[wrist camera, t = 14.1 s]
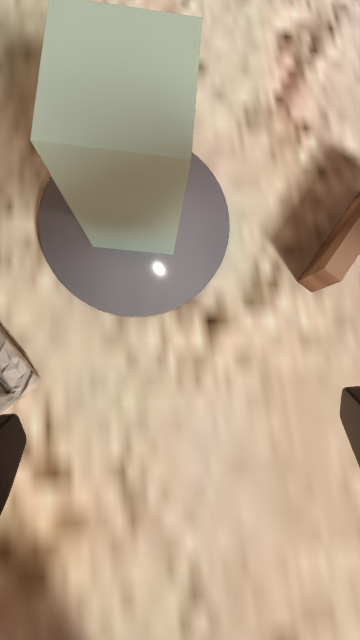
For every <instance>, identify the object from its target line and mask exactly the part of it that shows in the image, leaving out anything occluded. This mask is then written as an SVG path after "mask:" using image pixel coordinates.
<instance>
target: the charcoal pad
mask: <svg viewBox="0 0 360 640" xmlns="http://www.w3.org/2000/svg"><path fill="white" fill-rule="evenodd" d="M38 228H39V238H40V242H41V246H42V250H43V252H44V255H45V258H46V260H47V262H48V264H49V266H50V268H51V269H52V271H53V273H54V274H55V275H56V277H57V278H58V279H59V281H60V282H61V283H62V284H63V285H64V286H65V287H66V288H67V289H68V290H69V291H70V292H71V293H73V294H74V295H75V296H76V297H78V298H79V299H80V300H82V301H83V302H85V303H87V304H88V305H90V306H92V307H94V308H96V309H98V310H101V311H103V312H106V313H110V314H113V315H117V316H124V317H148V316H155V315H159V314H163V313H166V312H169V311H171V310H174V309H176V308H178V307H180V306H182V305H183V304H185V303H187V302H188V301H190V300H191V299H192V298H194V297H195V296H196V295H197V294H198V293H200V292H201V291H202V290H203V289H204V288H205V286H206V285H207V284H208V283H209V281H210V280H211V279H212V278H213V276H214V275H215V273H216V271H217V270H218V268H219V266H220V264H221V262H222V260H223V257H224V255H225V252H226V248H227V244H228V238H229V214H228V207H227V204H226V200H225V196H224V194H223V192H222V189H221V187H220V185H219V183H218V181H217V180H216V178H215V176H214V175H213V173H212V172H211V171H210V169H209V168H208V167H207V166H206V165H205V164H204V163H203V162H202V161H201V160H200V159H199V158H198V157H197V156H196V155H195V154H193V153H192V154H191V162H190V168H189V173H188V178H187V184H186V189H185V194H184V199H183V205H182V210H181V215H180V221H179V226H178V231H177V237H176V242H175V247H174V252H173V255H171V254H161V253H151V252H140V251H130V250H120V249H110V248H100V247H93V246H92V244H91V243H90V241H89V239H88V237H87V236H86V234H85V232H84V231H83V229H82V227H81V226H80V224H79V222H78V221H77V219H76V217H75V215H74V214H73V212H72V210H71V209H70V207H69V205H68V204H67V202H66V200H65V198H64V197H63V195H62V193H61V192H60V190H59V188H58V187H57V185H56V183H55V181H54V180H53V178H52V176H51V178H50V180H49V182H48V184H47V186H46V188H45V190H44V193H43V196H42V199H41V203H40V208H39V218H38Z"/></svg>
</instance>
